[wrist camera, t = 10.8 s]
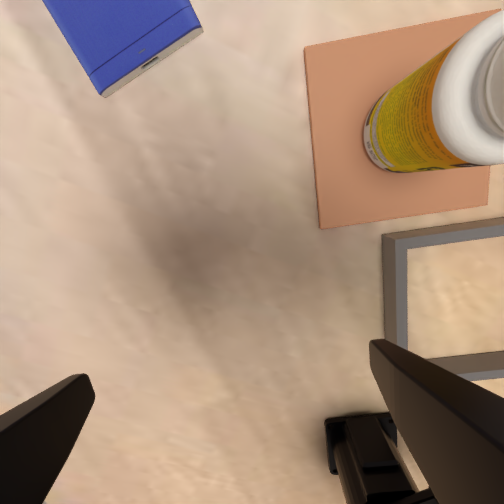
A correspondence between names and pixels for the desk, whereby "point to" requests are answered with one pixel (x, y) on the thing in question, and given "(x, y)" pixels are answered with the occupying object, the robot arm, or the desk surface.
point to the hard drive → (123, 35)
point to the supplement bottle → (445, 108)
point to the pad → (353, 121)
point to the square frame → (396, 290)
